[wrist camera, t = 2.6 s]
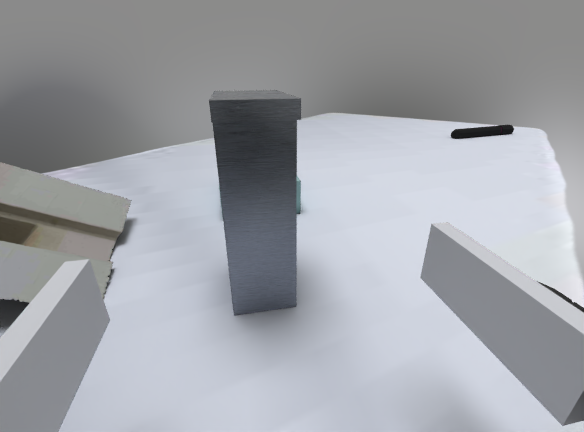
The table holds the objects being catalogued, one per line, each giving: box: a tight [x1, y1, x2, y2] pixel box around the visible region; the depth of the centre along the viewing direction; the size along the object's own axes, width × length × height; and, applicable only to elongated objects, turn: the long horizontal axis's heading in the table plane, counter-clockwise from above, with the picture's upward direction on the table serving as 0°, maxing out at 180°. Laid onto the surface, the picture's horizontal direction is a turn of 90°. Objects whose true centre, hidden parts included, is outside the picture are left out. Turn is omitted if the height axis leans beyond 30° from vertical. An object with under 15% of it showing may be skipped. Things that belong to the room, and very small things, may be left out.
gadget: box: [451, 125, 514, 139], centre depth 80 cm, size 2×2×20 cm
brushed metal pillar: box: [209, 90, 301, 315], centre depth 21 cm, size 4×8×14 cm, turn 11°
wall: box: [0, 163, 132, 303], centre depth 25 cm, size 16×9×15 cm
